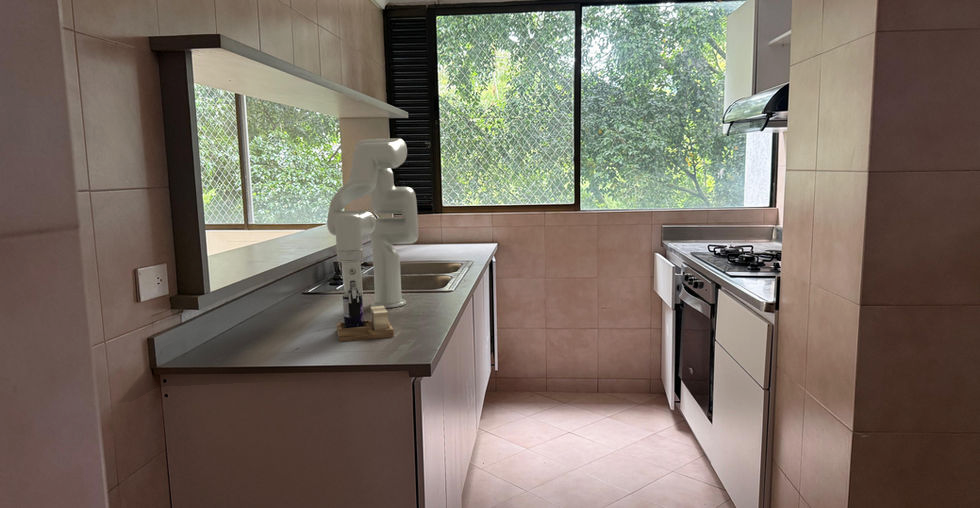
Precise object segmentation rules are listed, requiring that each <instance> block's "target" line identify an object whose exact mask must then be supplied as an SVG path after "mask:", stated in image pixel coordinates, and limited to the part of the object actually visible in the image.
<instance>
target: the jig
mask: <svg viewBox="0 0 980 508" xmlns="http://www.w3.org/2000/svg"><path fill="white" fill-rule="evenodd" d="M388 328H389V329H380V330H373V328H372V326H371V320H369V319H364V327H356V328H345V325H344V321H342V322H341V321H340V322H336V331H337V332H336V333H337V337H338V341H339V342H340V343H341V342H342V343H343V342H351V341H362V340H373V339H383V338H394V337H395V336H394V328H393V327H392V324H391V322H390V321H389V320H388Z"/></svg>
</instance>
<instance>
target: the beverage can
mask: <svg viewBox="0 0 980 508" xmlns="http://www.w3.org/2000/svg"><path fill="white" fill-rule="evenodd" d="M358 296H359V302H360V316H354V317H350V316H349V306H348V303H349V296H348V295H346V293H345V290H344V291H343V294H342V304H343V305H342V307H343V309H342V310H343V320H344V321H343V322H344V325H345V328H356V327H364V320H365V319H364V306H363V305H364V303H363V301H364V300H363V294H362V295H361V294H360V293H359V292H358Z"/></svg>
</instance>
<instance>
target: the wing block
mask: <svg viewBox="0 0 980 508" xmlns="http://www.w3.org/2000/svg"><path fill="white" fill-rule="evenodd" d="M370 321H371V326H372V328H373V330H380V329H389V328H388V321H389V312H388V310H387V308H385V307H384V306H374V307H373V306H370Z"/></svg>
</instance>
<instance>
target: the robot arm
mask: <svg viewBox="0 0 980 508" xmlns="http://www.w3.org/2000/svg"><path fill="white" fill-rule="evenodd" d="M407 154H408V148H407V144H406V142H405V141H404V140H403V139H402V138H397V137H396V138H367V139H362V140H359V141H358V142H356V144H355V149H354V151H353V157H352V162H351V167H350V173H349V177H348V178H349V179H348V181H347V182H346V183H345V184H344V185H343V186H342V187H340V189H339V190H338V191H336V193H335V194H334V195H333V197H332V199H331V200H330V203H329V208H328V212H327V213H328V214H327V219H326V226H327V230H328V232H329V233H330V234H331V235H333V236H335V245H336V247H335V248H336V259H337V262H338V263H341V272H342V273H341V274H342V282H343V288H344V291H345V293H346V295H348V296H349V303H348V306H349V316H350V317H354V316H360V302H359V296H358V292H359V293H360V294H361V295H362V296H363V294H364V290H363V281H362V280H363V278H362V266H361V262H362V261H364V248H363V236H365V237H366V236H369V238H370V244H371V249H372V251H371V252H372V263H373V266H372V267H373V283H374V284H373V285H374V299H373V300H371V302H370V307H374V306H384V307H385V309H388V308H397V307H403V306H404V305H406V304H407V300H406V299H404V298H403V297H402V278H401V264H400V263H401V257H400V253H399V251H398V250H397V249H396V248H395V246H394V245H407V244H408V245H410V244H414V243H416V242H417V241H418V238H419V219H418V203H417V197H416V192H415V190H414V189H413V188H412V187H409V186H395V183H394V181H395V179H394V172H393V170H392V169H397V168H399V167H400V166H401V165H403V164H404V163H405V161H406V159H407V157H408V155H407ZM368 195H369V196H370V203H371V209H372V211H373V212H374V213H375V214H379V215H399V214H401V215H402V216H403V217H400V216H399V217H394V216H392V217H391V216H390V217H388V216H387V217H378V218H377V217H375V216H374V214H373V213H372V212H371V211H369V210H368V211H367V210H344V209H345V207H347V206H348V205H349V204H350V203H352V202H354V201H358V200H359V199H362V198H364V197H366V196H368Z"/></svg>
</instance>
